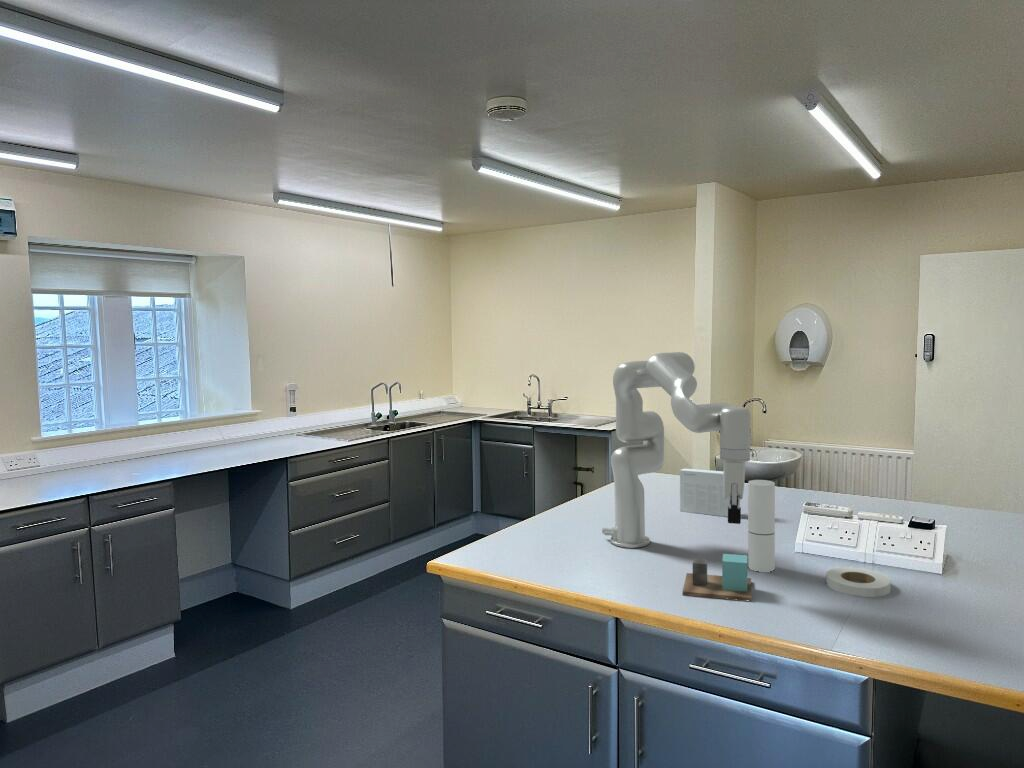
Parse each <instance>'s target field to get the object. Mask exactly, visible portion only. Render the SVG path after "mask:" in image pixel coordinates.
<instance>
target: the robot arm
mask: <svg viewBox="0 0 1024 768" xmlns="http://www.w3.org/2000/svg"><path fill="white" fill-rule="evenodd" d="M695 366H696V365H695V362H694V360H693V358H692V357H691V356H690V355H689V354H688V353H686V352H683V351H681V352H680V351H677V352H675V351H674V352H673V351H672V352H660V353H656V354H654V355H652V356H651V357H649V358H648V360H635V361H628V362H623V363H621V364H619V365H618V366H617V367H616V368H615V370H614V373H613V376H612V385H613V386H612V387H613V390H614V395H615V433H616V437H617V439H618V440H619V441H620V442H622V443H638V442H642V444H637V445H635V444H634V445H627V446H622V447H619V448H617V449H615V450H614V451H613V452H612V454H611V456H610V463H611V465H610V466H611V470H612V475H613V486H614V522H615V523H614V525H615V526H614V527H612V528H608V527H602V529H601V532H602V533H601V534H603V535H604V536H611V537H610V543H611V544H612V545H614V546H617V547H620V548H629V549H635V548H642V547H643V548H644V547H646V546H648V545H649V544H650V543H651V541H650V540H651V539H650V537H649V536H647V535H645V533H646V532H645V531H646V528H645V527H646V524H645V523H646V519H645V487H644V484H643V483H642V482H641V480H640V479H639V476H641V475H646V474H652V473H653V474H654V473H656V472H659V471H660V470H661V469H662V467H663V465H664V461H665V460H664V459H665V458H664V457H665V454H664V453H665V426H664V421H663V419H662V417H661V416H660V414H659V413H658V412H655V411H651V410H650V411H643V410H644V409H643V405H644V404H643V403H644V402H643V397H642V395H641V393H640V391H639V390H638V389H649V388H660V387H661V389H663V390H664V391H665V392H666V394H668V395H669V396H670V397H671V398H670V405H671V410H672V413H673V415H674V417H675V418H676V420H677V421H679V422H680V423H681V424H682V425H683V427H685V428H686V429H687V430H689V431H690V432H693V433H696V434H701V433H711V432H719V460H720V461H723V470H722V471H723V498H724V499H726V498H728V497H729V507H728V517H727V523H728V524H735V525H737V524H738V525H741V523H742V522H741V519H742V518H741V517H742V516H741V515H742V514H741V512H742V510H741V509H742V508H741V500H742V499H743V497H744V490H745V478H746V476H745V475H746V462H747V463H748V462H750V461H751V418H752V417H751V411H750V409H749V408H747V407H744V406H737V405H736V406H735V405H732V404H730V403H728V402H727V403H726V402H715V403H714V402H712V403H702V404H701V403H700V404H696V403H694V402H693V400H692V399H690V398H691V397H692V396H693V394H694V393H695V392H696V389H697V386H698V382H697V379H696V377H694V373H695V369H696V367H695Z"/></svg>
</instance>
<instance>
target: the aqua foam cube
mask: <svg viewBox="0 0 1024 768" xmlns="http://www.w3.org/2000/svg"><path fill="white" fill-rule="evenodd" d="M721 563H722V564H721V565H722V567H721V568H722V569H721V570H722V571H721V572H722V575H721V576H722V589H723V590H734V591H745V592H747V578H748V554H747V555H745V554H731V553H722V559H721Z"/></svg>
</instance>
